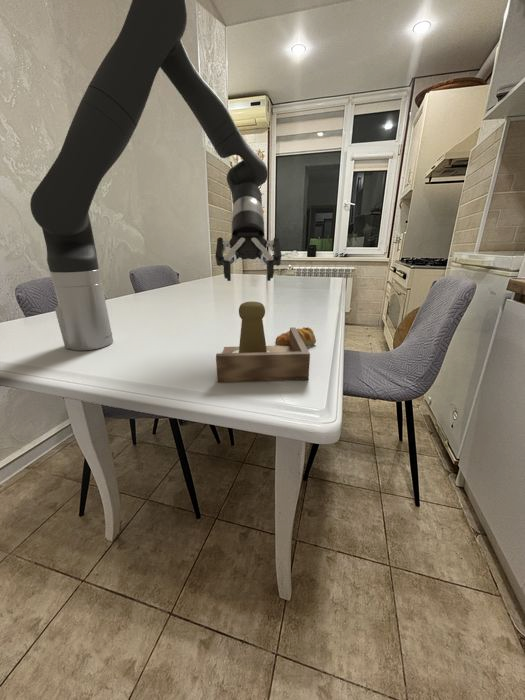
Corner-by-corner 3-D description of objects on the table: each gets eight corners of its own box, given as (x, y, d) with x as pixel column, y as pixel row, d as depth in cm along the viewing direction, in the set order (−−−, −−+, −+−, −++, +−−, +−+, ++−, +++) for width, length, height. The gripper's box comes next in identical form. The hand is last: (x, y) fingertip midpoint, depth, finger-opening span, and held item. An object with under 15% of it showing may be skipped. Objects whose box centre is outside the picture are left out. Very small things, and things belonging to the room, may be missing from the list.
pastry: (283, 352, 65) (284, 336, 63) (269, 343, 70) (269, 328, 69) (318, 345, 68) (319, 330, 67) (302, 338, 74) (302, 323, 73)
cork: (268, 350, 63) (268, 299, 59) (266, 360, 57) (266, 305, 53) (240, 349, 63) (238, 299, 59) (236, 360, 58) (233, 305, 54)
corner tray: (217, 382, 51) (215, 356, 49) (224, 350, 65) (223, 328, 64) (308, 380, 51) (310, 353, 49) (294, 348, 66) (295, 327, 64)
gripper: (215, 209, 64) (213, 266, 58) (279, 209, 65) (284, 266, 58) (219, 235, 71) (217, 289, 65) (276, 234, 72) (280, 288, 65)
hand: (249, 278), depth 61 cm, fingers open, 8 cm apart
